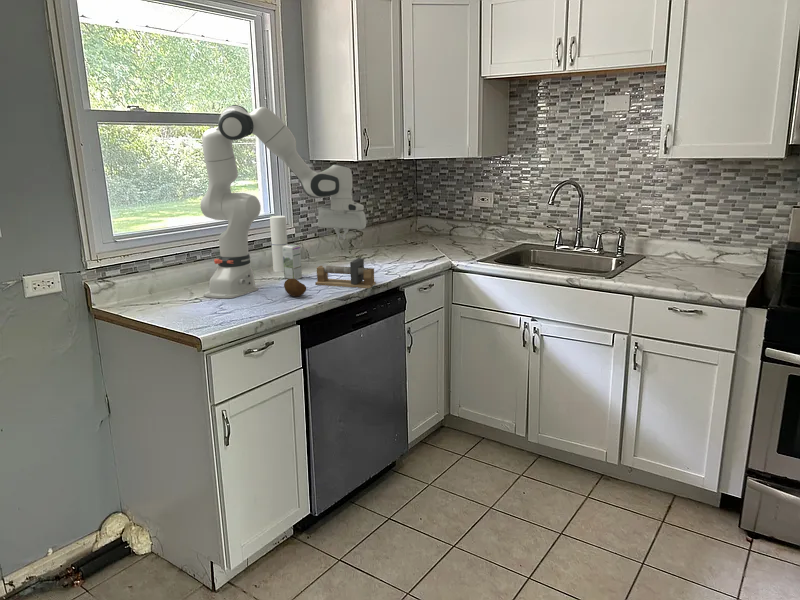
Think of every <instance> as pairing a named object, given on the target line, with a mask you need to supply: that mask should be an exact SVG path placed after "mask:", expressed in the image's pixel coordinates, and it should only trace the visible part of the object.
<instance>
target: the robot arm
mask: <svg viewBox="0 0 800 600" xmlns="http://www.w3.org/2000/svg"><path fill="white" fill-rule="evenodd" d="M217 121H218V122H217V126H216V127H212V128H208V129H206V130H205V131H204V132H203V133H202V143H201V144H202V151H203V158H204V162H205V167H206V172H207V176H208V187H207V191H206V193H205V194H204V195H203V197H202V198H201V201H200V211H201V212H202V214H203V216H205V217H206V218H209V219H211V220H215V221H227V228H226V229H225V230H224V231H222V232H221V234H219V236H218V241H219V242H218V243H219V257H218V258H214V259H213V261H214V264H215V265H217V264H218V266H217V268H216V270H215V271H214V272H213V274H212V276H211V277H210V279H209V281H208V282H209V283H208V284H209V286H208V288H209V289H208V290H207V291H205V292H204V293H203V297H207V298H213V299H234V298H237V297H238V298H239V297H240V296H243V295H247V294H249V293H252V292H256V291H258V290H259V288H258V286H257V285H256V280H255V275H254V270H253V268H252V267H251V256H250V253H249V242H248V241H249V239H248V238H249V231H250V228H251V227H252V226H251V225H252V224H253V222H254V221H255V220H256V219H257V218H258V217H259V216H260V214H261V211H262V210H261V209H262V208H261V203H260V200H259V198H258V197H257V196H255V195H254V194H253V195H252V194H248V193H245V192H232V190H231V187H232V186H231V185H232V184H233V183H234V182H235V181H236V180H237V178H238V176H239V172H238V168H237V163H236V162H237V161H236V157H235V153H234V152H235V151H234V149H233V148H234V147H233V141H239V140H242V139H244V138H245V137H248V136H251V135H252V134H253V135H255V136H256V137H257V138H258V139H259V140H260V142H262V144H263V145H264V146H265V147H267V148H268V150H269V151H270V152H272V154H273V155H274V156H276V157H277V158H279V159H280V160H281V161H283V162H284V164H285V165H286V166H287V167H288V168H289V169H290V170H291V172H292V173H294V175H295V177H296V178H298V180H299V183H300V185H301V189H302V190H303V192H304V193H305V194H306V195H307V196H308V197H311V198H325V197H330V204H321V205H320V206H319V207H318V208H317V209H318V210H317V212H318V216H317V226H318V227H319V228H323V229H324V228H325V229H334V232H335V233H336V236H337V240H341V241H342V240H344V241H345V240H346V239H347V234H348V233H349V230H365V228H366V227H367V219H366V218H367V217H366V213H365V212H364V209H365V205H363V204H361V203H358V202H357V201H354V200H353V194H352V191H353V175H352V173H353V172H352V169H351V168H350V167H349V166H347V165H343V164H332V165H331V166H330V167H328V168H326V169H325V170H322V171H319V172H316V171H315V170H313V169H312V168H311V167H310V166H309V165H308V164H307V162H305V160H304V159H303V158H302V157H301V156H300V154H299V153H298V150H297V146H296V145H297V141H296V140H297V139H296V137H295V136H294V134H293V133H292V131H291V130H290V128H289V127H288V125H287V124H286V123H284V121H283V120H282V119H281V118H280V117H279V116H278V115H277V114H275V113H274V112H273V111H272V110H271V109H270V108H268V107H266V106H260V107H256V108H255V109H253V110H252V111H251V112H248V110H247V109H246V108H244V107H243V106H241V105H238V104H232V105H228V106H227V107H225V108H224V109H223V110H222V111H221V113H220V115H219V118H218V120H217ZM341 229H343V230H342V231H343V234H341V233H340V231H341Z"/></svg>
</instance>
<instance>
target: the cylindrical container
mask: <svg viewBox="0 0 800 600" xmlns="http://www.w3.org/2000/svg"><path fill="white" fill-rule="evenodd" d="M269 225H270V237H271V238H270V240H271V241H270V242H271V243H270V244H271V253H272V254H271V256H272V267H273V268H272V269H273V270H272V271H273V272H274V273H284V264H283V250H282V246H285V245H288V233H287V218H286V216H285V215H273V216H272V215H271V216H269Z"/></svg>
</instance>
